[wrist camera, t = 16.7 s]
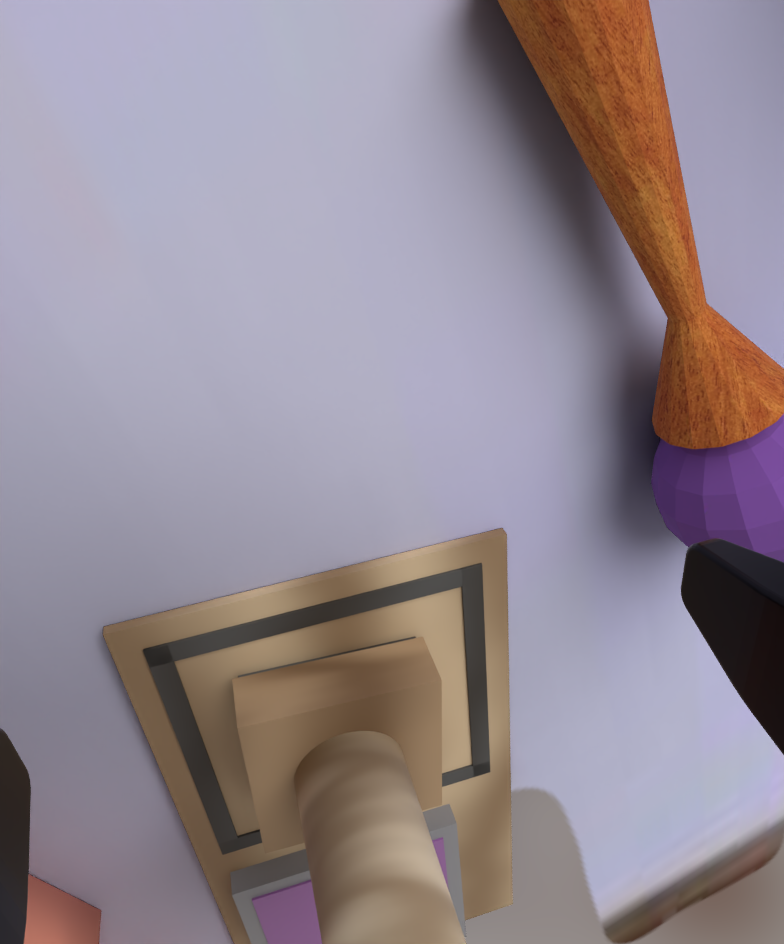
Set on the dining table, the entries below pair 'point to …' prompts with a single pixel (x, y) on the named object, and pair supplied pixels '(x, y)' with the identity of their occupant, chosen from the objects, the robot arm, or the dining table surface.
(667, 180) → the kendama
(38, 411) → the dining table surface
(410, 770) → the stamp
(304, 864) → the ink pad
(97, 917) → the pottery
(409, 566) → the stamp board
